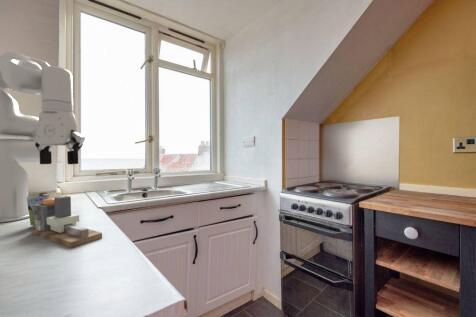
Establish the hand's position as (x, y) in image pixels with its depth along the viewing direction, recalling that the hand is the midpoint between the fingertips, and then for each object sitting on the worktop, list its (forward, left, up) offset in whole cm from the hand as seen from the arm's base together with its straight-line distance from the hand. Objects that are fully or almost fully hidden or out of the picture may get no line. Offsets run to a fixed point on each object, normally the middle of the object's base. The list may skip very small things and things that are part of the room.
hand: (59, 164), depth 69 cm
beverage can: (-17, +1, -22) cm, 28 cm away
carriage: (+1, 0, -20) cm, 20 cm away
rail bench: (+3, 0, -22) cm, 22 cm away
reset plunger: (-6, 0, -14) cm, 15 cm away
